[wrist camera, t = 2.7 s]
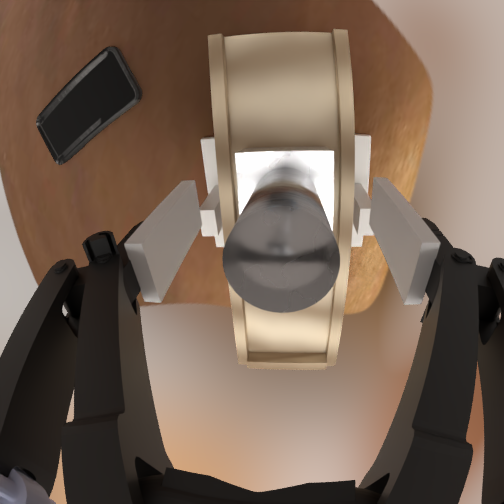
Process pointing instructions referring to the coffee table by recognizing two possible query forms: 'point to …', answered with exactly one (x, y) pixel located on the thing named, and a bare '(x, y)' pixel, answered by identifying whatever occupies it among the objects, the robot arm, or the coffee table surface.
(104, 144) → the coffee table surface
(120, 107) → the phone
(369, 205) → the stand
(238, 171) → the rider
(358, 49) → the coffee table surface
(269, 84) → the beam
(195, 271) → the coffee table surface
